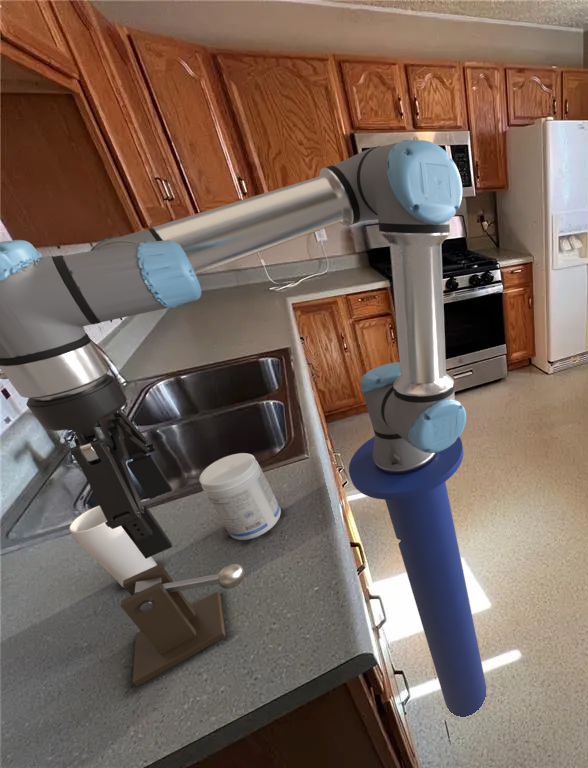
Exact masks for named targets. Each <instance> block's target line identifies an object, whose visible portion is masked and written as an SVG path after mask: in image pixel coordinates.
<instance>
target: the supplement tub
mask: <svg viewBox="0 0 588 768" xmlns="http://www.w3.org/2000/svg"><path fill="white" fill-rule="evenodd" d="M198 479H199V483H200V485H201V488H202V490H203V492H204V493H205V495H206V497H207V499H208V500H209V503H210V504H211V505H212V507H213V509H214V511H215V512H216V514H217V516H218V518H219V519H220V521H221V523H222V524H223V526H224V528H225V529H226V531H227V532H228V534H229V536H230V537H232V538H233V539H235V540H238V541H248V540H251V539H255V538H258V537H260V536H262V535H264V534H266V533H267V532H268V531H270V530H271V529H272V528H273V527H274V526H276V524H277V522H278V521H279V520H280V517H281V513H282V511H281V507H280V505H279V502H278V501H277V498H276V496H275V494H274V492H273V490H272V488H271V486H270V483H269V482H268V480H267V478H266V476H265V474H264V471H263V469H262V467H261V465H260V464H259V462H258V461H257V459H256V457H255V456H254V455H253V454H251V453H248V452H247V453H246V452H239V453H235V454H234V453H233V454H230V455H227V456H224V457H222V458H219V459H217V460H215V461H214V462H212V463H211V464H209V465H208V466H207V467H206V468H204V470H203V471H202V472H201V474H200V475H199V478H198Z"/></svg>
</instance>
